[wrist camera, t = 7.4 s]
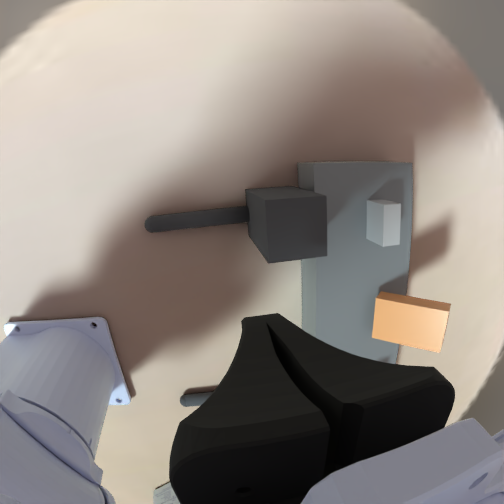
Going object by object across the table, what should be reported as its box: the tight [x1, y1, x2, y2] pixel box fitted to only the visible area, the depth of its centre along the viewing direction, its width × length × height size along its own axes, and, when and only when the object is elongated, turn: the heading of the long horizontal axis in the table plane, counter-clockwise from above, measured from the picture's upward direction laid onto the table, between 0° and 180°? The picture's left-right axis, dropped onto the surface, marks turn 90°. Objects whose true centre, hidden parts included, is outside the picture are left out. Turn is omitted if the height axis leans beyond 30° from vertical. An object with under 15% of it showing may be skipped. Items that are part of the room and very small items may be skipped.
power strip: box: [297, 161, 413, 364], centre depth 21 cm, size 7×20×5 cm, turn 4°
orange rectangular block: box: [372, 291, 451, 353], centre depth 19 cm, size 1×3×5 cm
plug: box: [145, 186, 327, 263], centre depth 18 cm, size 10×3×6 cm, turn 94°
